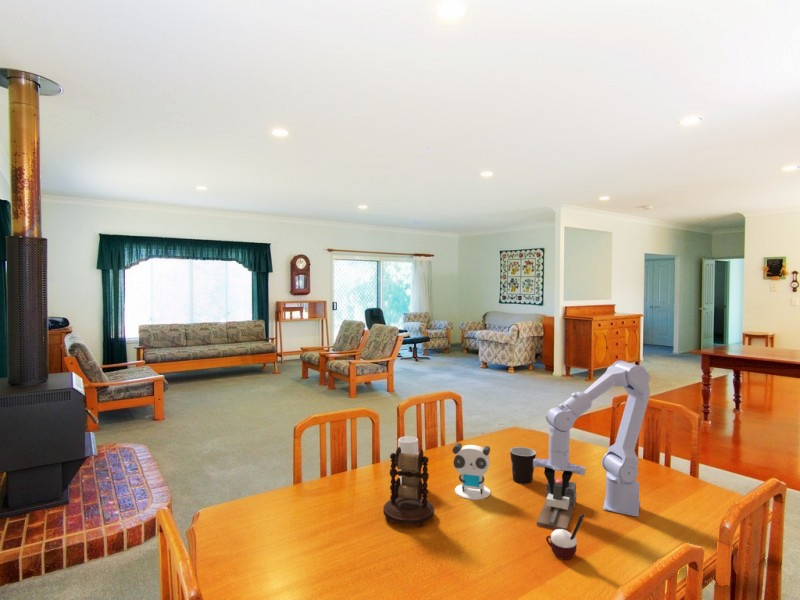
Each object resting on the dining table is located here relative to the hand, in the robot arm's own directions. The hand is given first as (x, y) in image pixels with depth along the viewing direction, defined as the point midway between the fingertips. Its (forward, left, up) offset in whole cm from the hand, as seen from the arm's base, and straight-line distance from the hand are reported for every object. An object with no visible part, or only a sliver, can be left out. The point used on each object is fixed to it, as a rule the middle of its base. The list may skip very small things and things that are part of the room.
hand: (558, 494), depth 142 cm
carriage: (0, 0, -3) cm, 3 cm away
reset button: (0, -6, +1) cm, 6 cm away
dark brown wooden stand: (+38, +23, -5) cm, 45 cm away
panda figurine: (+27, -1, -5) cm, 28 cm away
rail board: (0, +1, -5) cm, 5 cm away
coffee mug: (+14, -19, -5) cm, 24 cm away
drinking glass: (+48, +3, -5) cm, 48 cm away
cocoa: (-5, +23, -5) cm, 24 cm away
